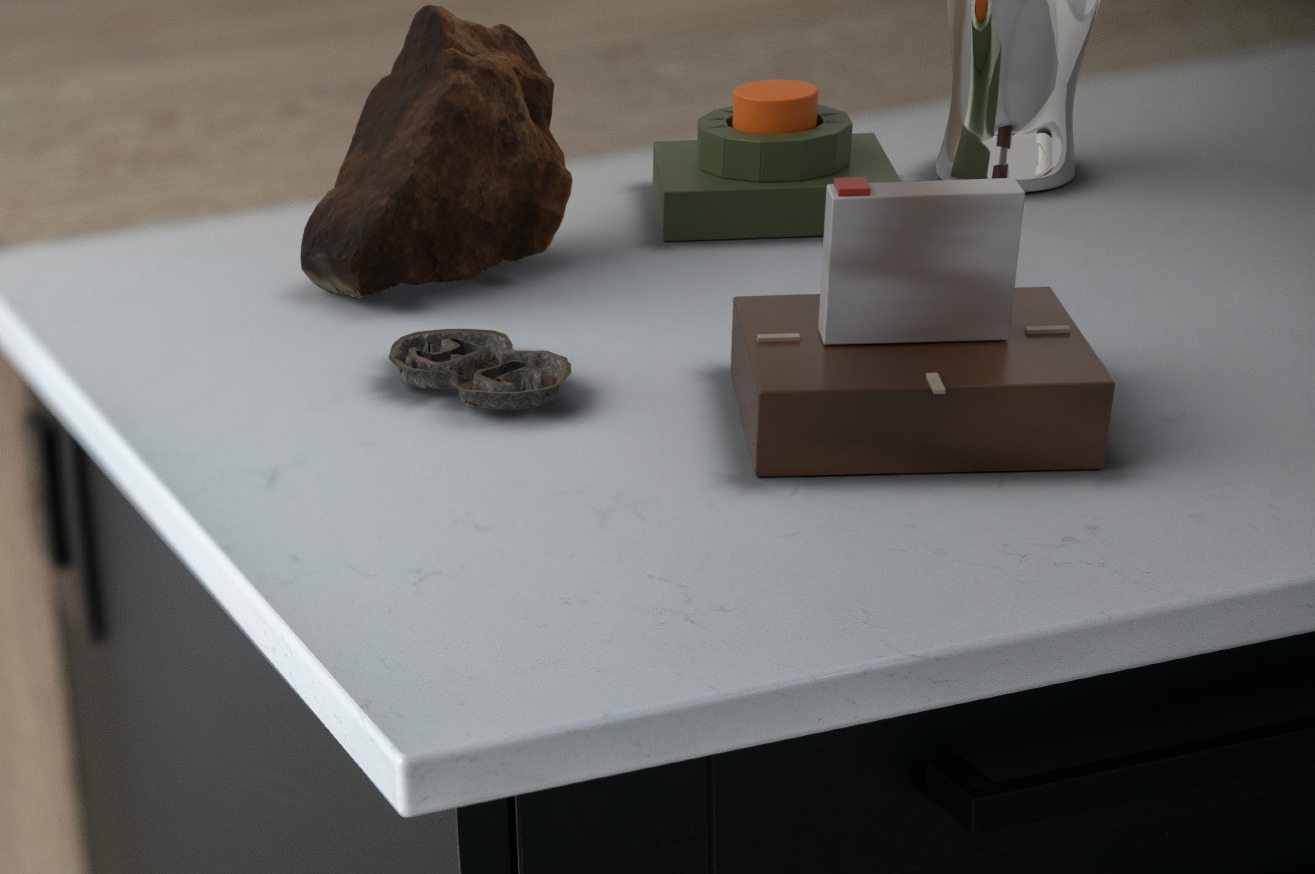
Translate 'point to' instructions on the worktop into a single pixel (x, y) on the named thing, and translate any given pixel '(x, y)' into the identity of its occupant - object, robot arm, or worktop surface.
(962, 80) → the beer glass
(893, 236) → the tap handle
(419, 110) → the decorative rock
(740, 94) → the button
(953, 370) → the block
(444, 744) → the worktop surface
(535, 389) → the corroded twin loop
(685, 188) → the button box
